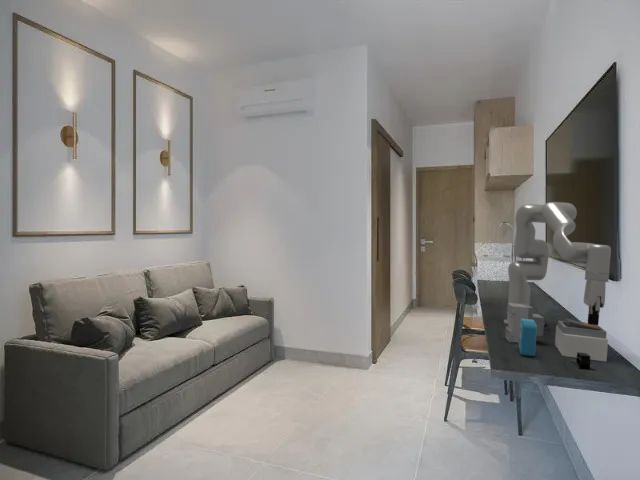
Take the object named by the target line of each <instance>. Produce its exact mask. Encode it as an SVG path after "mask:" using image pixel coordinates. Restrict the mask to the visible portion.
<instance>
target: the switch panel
mask: <svg viewBox="0 0 640 480" xmlns="http://www.w3.org/2000/svg"><path fill="white" fill-rule="evenodd" d="M595 326H596V327H597V328H598V329H599V330H591V329H582V328H576V327H573V326H569V325H567V324H566V323H565V320H557V325H556V326H555V338H554V346H555V347H556V348H558V349H557V350H558V351H559V353H560V354H561V356H562V357H568V358H569V357H570V358H575V359H577V352H580V353H587V354H588V355H589V356H590V361H591V360H592V361H600V362H607V358H608V346H609V345H608V344H609V340H608V338H607V331H606V330H605V329H603V328H602V327H601V326H599V324H598V325H595Z"/></svg>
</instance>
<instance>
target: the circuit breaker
mask: <svg viewBox="0 0 640 480" xmlns="http://www.w3.org/2000/svg"><path fill="white" fill-rule="evenodd" d="M506 314H507V316H509V322H508V324H507V326H505V337H504V338H505V339H506V341H508V342H509V343H514V342H517V344H519V337H520V322H521V318H522V319H531V320H534V322H535V323H536V325H537V332H536V337H544V330H545V329H544V328H545V327H546V328H547V325H548V324H547V323H545V317H544V316H542V315H540V314H539V313H534V307H533V306H531V305H530V306H529V305H527V304H514V303H507V307H506Z"/></svg>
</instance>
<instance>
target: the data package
mask: <svg viewBox="0 0 640 480" xmlns="http://www.w3.org/2000/svg"><path fill="white" fill-rule="evenodd" d="M536 332H537V325H536V323H535V322H534V320H531V319H522V318H521V322H520V337H519V343H518V348H519V352H520V355H521V356H525V357H532V356H533V358H534V357H535V356H536V345H537V336H536Z"/></svg>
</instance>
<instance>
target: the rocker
mask: <svg viewBox="0 0 640 480" xmlns="http://www.w3.org/2000/svg"><path fill="white" fill-rule="evenodd" d="M564 321H565V323H566V324H567V325H569V326H573V327H576V328H582V329H591V330H599V329H598V328H597V327H596V326H595V325H591V324H588V322H584V321H578V320H574V319H571V318H566V317H565V319H564Z"/></svg>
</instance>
